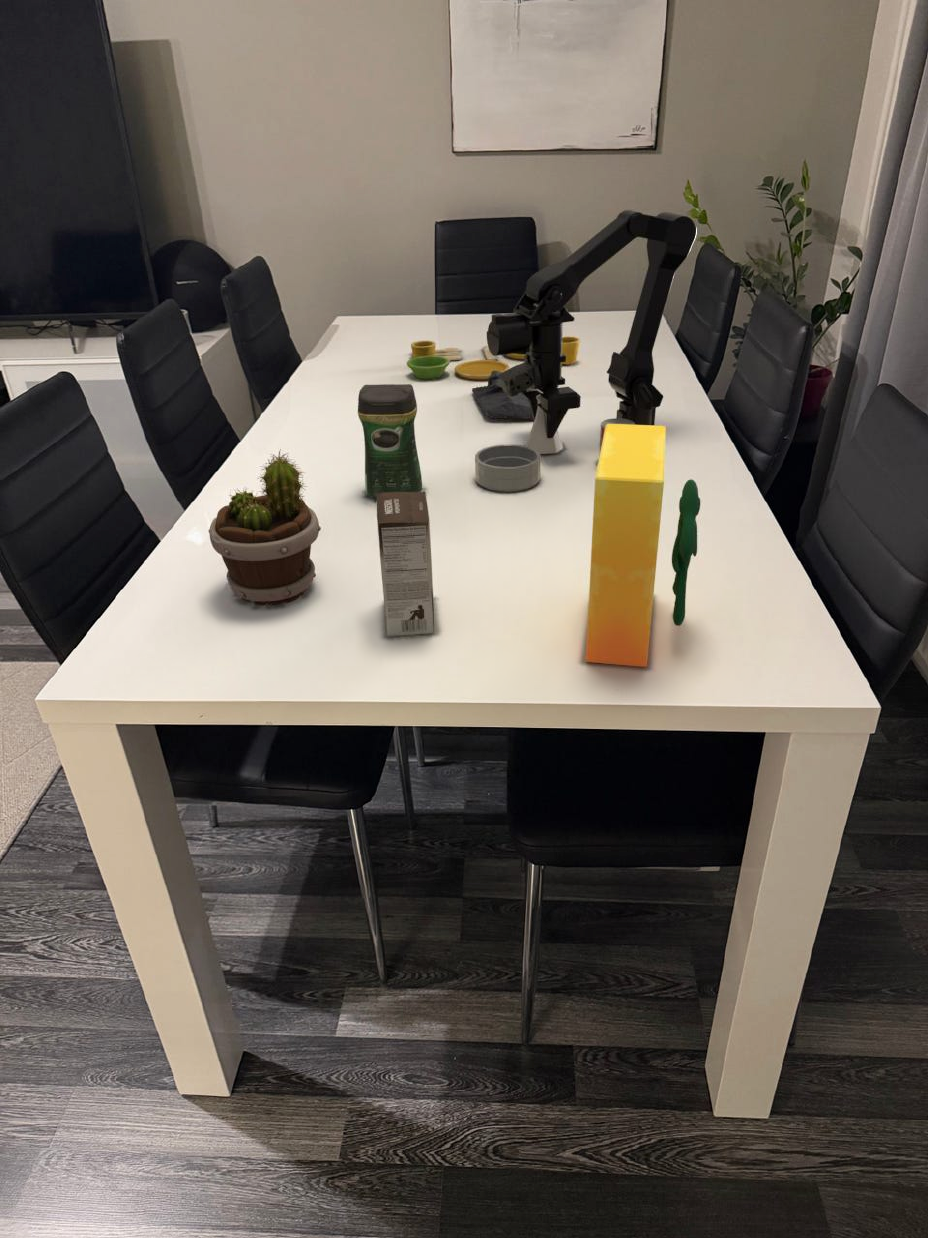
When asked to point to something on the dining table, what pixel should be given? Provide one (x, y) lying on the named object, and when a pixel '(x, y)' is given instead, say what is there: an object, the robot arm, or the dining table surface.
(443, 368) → the tableware set
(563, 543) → the dining table surface
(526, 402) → the dark grey cloth
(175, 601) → the dining table surface
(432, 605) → the coffee box
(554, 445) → the flask
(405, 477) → the coffee jar
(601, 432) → the tin can
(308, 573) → the flowerpot
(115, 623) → the dining table surface
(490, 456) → the bowl
